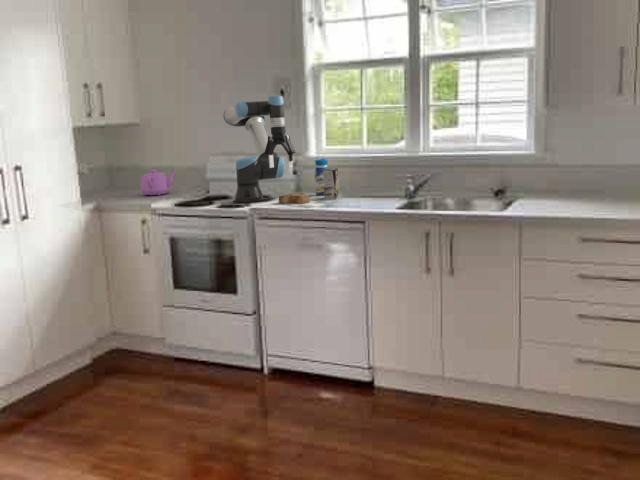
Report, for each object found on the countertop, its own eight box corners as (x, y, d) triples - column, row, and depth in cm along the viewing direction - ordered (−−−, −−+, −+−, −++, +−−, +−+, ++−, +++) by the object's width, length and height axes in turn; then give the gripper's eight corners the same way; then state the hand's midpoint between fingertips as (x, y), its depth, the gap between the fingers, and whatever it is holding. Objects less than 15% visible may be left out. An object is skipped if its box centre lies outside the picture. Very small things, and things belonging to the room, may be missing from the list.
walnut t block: (279, 203, 345) (278, 195, 344) (298, 199, 354) (297, 192, 353) (296, 205, 335) (295, 197, 334) (315, 201, 344) (315, 194, 343)
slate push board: (273, 205, 344) (273, 203, 344) (300, 200, 356) (300, 198, 356) (307, 209, 326) (307, 208, 326) (334, 204, 338) (334, 202, 337)
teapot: (136, 198, 398) (133, 172, 395) (146, 193, 419) (144, 168, 415) (174, 196, 397) (171, 171, 394) (183, 191, 417) (180, 167, 414)
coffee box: (336, 201, 348) (335, 170, 344) (324, 201, 349) (322, 170, 346) (339, 198, 357) (338, 168, 353) (327, 198, 358) (326, 168, 354)
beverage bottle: (332, 194, 371) (330, 158, 367) (329, 197, 363) (328, 159, 359) (316, 195, 372) (315, 158, 368) (314, 197, 364) (312, 160, 360)
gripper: (255, 127, 352) (259, 168, 356) (290, 125, 335) (293, 168, 339) (266, 126, 357) (269, 166, 361) (300, 125, 341) (303, 166, 345)
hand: (280, 167), depth 350 cm, fingers open, 13 cm apart
